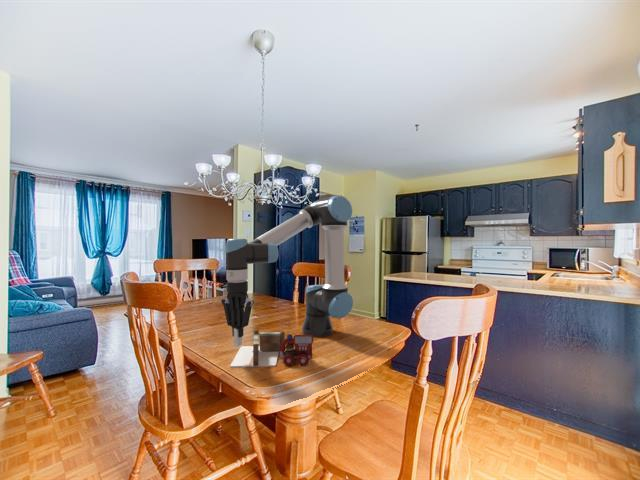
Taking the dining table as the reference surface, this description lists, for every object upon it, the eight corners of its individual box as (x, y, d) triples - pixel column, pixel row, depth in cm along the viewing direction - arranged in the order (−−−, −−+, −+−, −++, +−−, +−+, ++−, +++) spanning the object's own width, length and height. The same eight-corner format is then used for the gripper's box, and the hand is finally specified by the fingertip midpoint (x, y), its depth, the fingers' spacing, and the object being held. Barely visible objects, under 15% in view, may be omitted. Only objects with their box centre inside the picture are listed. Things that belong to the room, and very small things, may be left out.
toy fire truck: (281, 358, 109) (281, 330, 109) (314, 359, 108) (314, 331, 109) (277, 366, 102) (278, 336, 102) (312, 367, 102) (312, 337, 102)
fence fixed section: (284, 351, 116) (284, 328, 116) (284, 352, 114) (284, 330, 114) (253, 351, 115) (253, 329, 115) (252, 353, 113) (253, 330, 113)
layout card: (279, 346, 121) (279, 345, 121) (275, 366, 102) (275, 364, 102) (241, 347, 120) (241, 346, 120) (229, 367, 101) (229, 365, 101)
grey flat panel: (253, 352, 112) (253, 333, 113) (258, 351, 113) (258, 333, 113) (253, 366, 100) (253, 345, 100) (258, 365, 100) (258, 345, 100)
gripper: (215, 281, 103) (216, 346, 104) (246, 283, 99) (246, 351, 99) (229, 278, 110) (230, 339, 111) (258, 280, 106) (259, 344, 106)
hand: (238, 345), depth 105 cm, fingers closed
